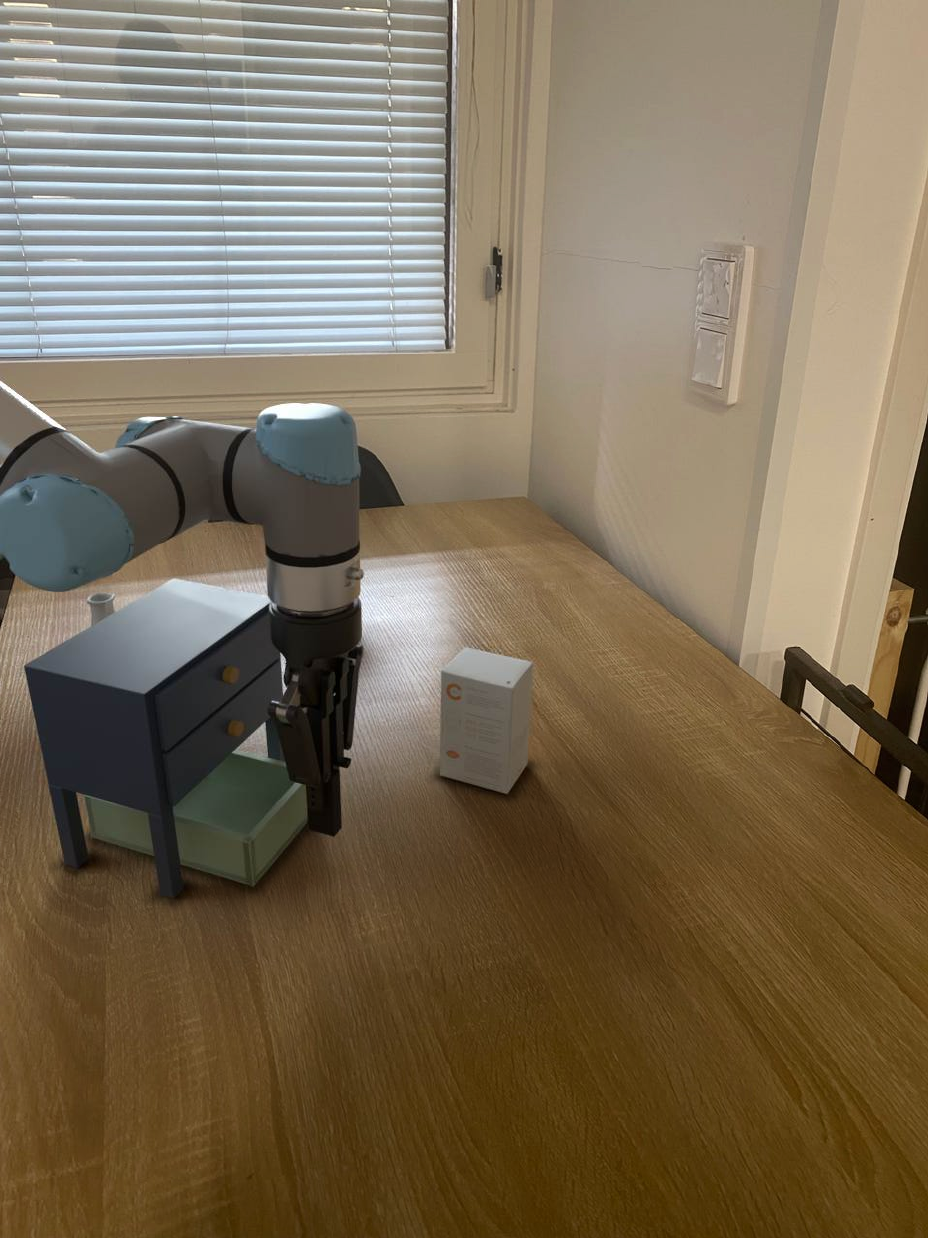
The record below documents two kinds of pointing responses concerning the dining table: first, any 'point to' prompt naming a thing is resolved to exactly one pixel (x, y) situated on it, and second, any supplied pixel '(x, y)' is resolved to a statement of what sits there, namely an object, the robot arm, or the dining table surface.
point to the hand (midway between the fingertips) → (325, 828)
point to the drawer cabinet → (154, 707)
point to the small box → (485, 719)
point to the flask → (100, 606)
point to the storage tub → (219, 819)
